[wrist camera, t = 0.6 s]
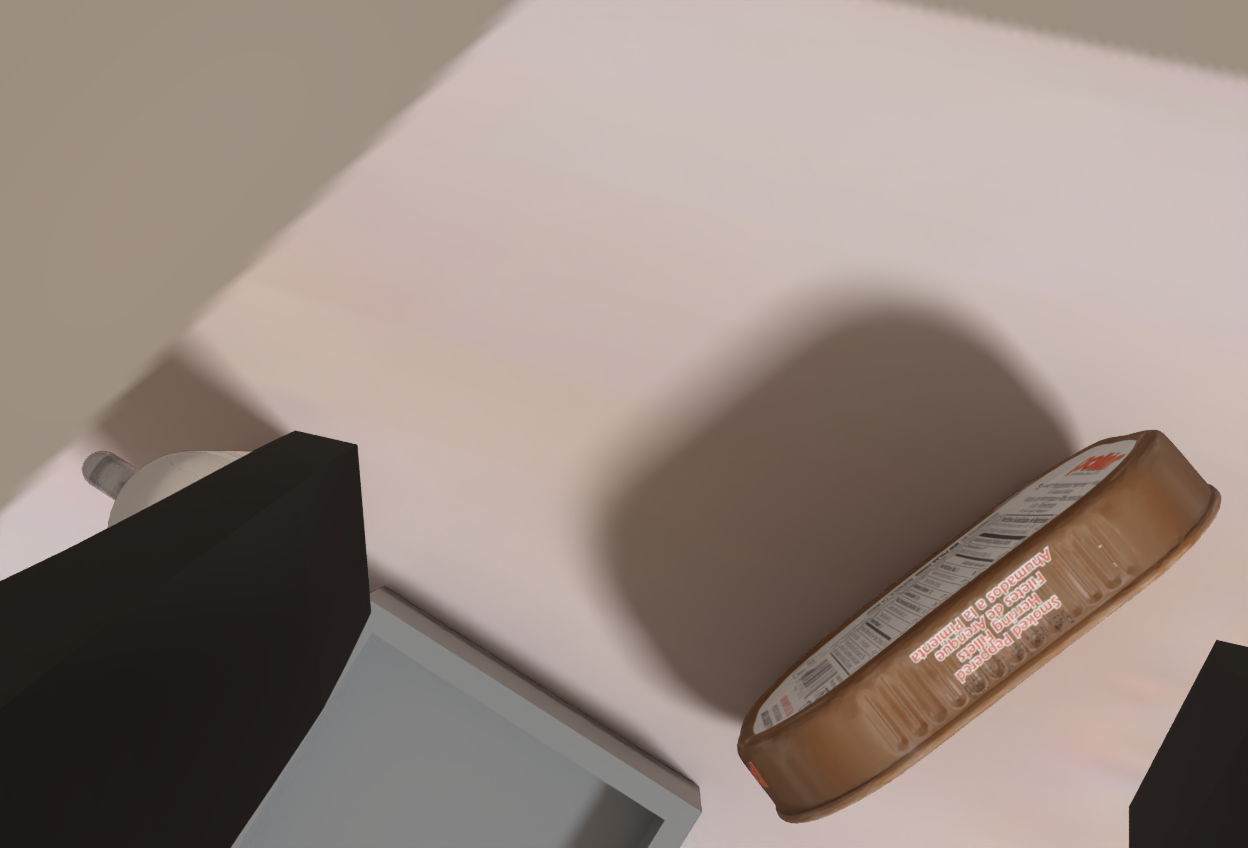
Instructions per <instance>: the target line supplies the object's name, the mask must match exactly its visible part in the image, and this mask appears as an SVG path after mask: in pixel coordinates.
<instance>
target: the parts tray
mask: <svg viewBox="0 0 1248 848" xmlns="http://www.w3.org/2000/svg"><path fill="white" fill-rule="evenodd" d="M370 603H371V614H370V616H369V619H368V621H367V623H366V625H365V627H364V629H363V631H362V633H361V635H360V637H359V639H358V641H357V643H356V646H355V648H354V650H353V652H352V654H351V656H350V658H349V660H348V662H347V664H346V666H345V668H344V670H343V672H342V674H341V676H340V678H339V680H338V682H337V684H336V686H335V688H334V689H333V691H332V693H331V695H330V697H329V699H328V701H327V703H326V705H325V707H324V709H323V710H322V712H321V713H320V715H319V716H318V718H317V720H316V721H315V723H314V724H313V726H312V727H311V729H310V730H309V732H308V733H307V735H306V736H305V738H304V739H303V741H302V742H301V744H300V745H299V747H298V748H297V750H296V751H295V753H294V754H293V756H292V757H291V759H290V761H289V762H288V764H287V765H286V767H285V768H284V770H283V771H282V773H281V774H280V776H279V777H278V779H277V780H276V782H275V783H274V785H273V786H272V788H271V789H270V790H269V792H268V793H267V795H266V796H265V798H264V799H263V801H262V802H261V804H260V805H259V807H258V808H257V810H256V811H255V813H254V814H253V816H252V817H251V819H250V820H249V822H248V823H247V824H246V826H245V827H244V829H243V830H242V832H241V833H240V835H239V836H238V838H237V839H236V841H235V842H234V844H233V845H232V847H231V848H680V847H681V845H682V843H683V842H684V840H685V839H686V837H687V835H688V834H689V832H690V830H691V829H692V827H693V826H694V824H695V822H696V821H697V819H698V818H699V816H700V814H701V813H702V808H701V799H700V791H699V786H697V785H696V784H694V783H692V782H691V781H689V780H688V779H686V778H685V777H683V776H681V775H680V774H678V773H677V772H675V771H674V770H672V769H671V768H669V767H667V766H666V765H664V764H663V763H661V762H660V761H658V760H656V759H655V758H653V757H652V756H650V755H649V754H647V753H645V752H644V751H642V750H641V749H639V748H638V747H636V746H634V745H633V744H631V743H630V742H628V741H627V740H625V739H623V738H622V737H620V736H619V735H617V734H616V733H614V732H613V731H611V730H609V729H608V728H606V727H605V726H603V725H602V724H600V723H598V722H597V721H595V720H594V719H592V718H591V717H589V716H587V715H586V714H584V713H583V712H581V711H580V710H578V709H576V708H575V707H573V706H572V705H570V704H569V703H567V702H565V701H564V700H562V699H561V698H559V697H558V696H556V695H554V694H553V693H551V692H550V691H548V690H547V689H545V688H544V687H542V686H540V685H539V684H537V683H536V682H534V681H533V680H531V679H529V678H528V677H526V676H525V675H523V674H522V673H520V672H518V671H517V670H515V669H514V668H512V667H511V666H509V665H507V664H506V663H504V662H503V661H501V660H500V659H498V658H496V657H495V656H493V655H492V654H490V653H489V652H487V651H486V650H484V649H482V648H481V647H479V646H478V645H476V644H475V643H473V642H471V641H470V640H468V639H467V638H465V637H464V636H462V635H460V634H459V633H457V632H456V631H454V630H453V629H451V628H449V627H448V626H446V625H445V624H443V623H442V622H440V621H438V620H437V619H435V618H434V617H432V616H431V615H429V614H427V613H426V612H424V611H423V610H421V609H420V608H418V607H417V606H415V605H413V604H412V603H410V602H409V601H407V600H406V599H404V598H402V597H401V596H399V595H398V594H396V593H395V592H393V591H391V590H390V589H388V588H387V587H385V586H383V587H381V588H379V589H377V590H375V591H373V592H371V593H370Z"/></svg>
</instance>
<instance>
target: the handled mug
mask: <svg viewBox="0 0 1248 848" xmlns="http://www.w3.org/2000/svg"><path fill="white" fill-rule="evenodd" d="M251 452H252V451H183V452H177V453H172V454H169V455H165V456H162V457H160V458H158V459H156V460H153V461H152V462H150V463H148V464H147V465H145V466H143V467H142V468H141V469H140V470H138V469H137V468H135V467H133V466H132V465H130V464H129V463H127V462H126V461H124V460H122V459H121V458H119V457H118V456H116V455H115V454H113V453H111V452H107V451H99V452H95V453H93V454H91V455H90V456H88V457H87V458H86V460H85V461H84V463H83V466H82V473H83V476H84V478H85V480H86V481H87V482H88V483H89V484H90V485H92V486H94V487H95V488H97V489H98V490H100V491H101V492H103V493H104V494H106V495H108V496H109V497H111V498H112V499H114V500H115V502H114V505H113V507H112V510H111V513H110V517H109V522H108V528H109V527H111V526H113V525H115V524H117V523H118V522H120V521H122V520H124V519H126V518H128V517H130V516H132V515H134V514H136V513H138V512H139V511H141V510H143V509H145V508H147V507H149V506H151V505H153V504H155V503H157V502H158V501H160V500H162V499H164V498H166V497H168V496H170V495H172V494H174V493H175V492H177V491H179V490H181V489H183V488H185V487H187V486H188V485H190V484H192V483H194V482H196V481H198V480H200V479H202V478H203V477H205V476H207V475H209V474H211V473H213V472H215V471H216V470H218V469H220V468H222V467H224V466H226V465H228V464H230V463H231V462H233V461H235V460H237V459H239V458H241V457H243V456H245V455H247V454H249V453H251Z"/></svg>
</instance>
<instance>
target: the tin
mask: <svg viewBox="0 0 1248 848" xmlns="http://www.w3.org/2000/svg"><path fill="white" fill-rule="evenodd" d="M1220 504H1221V495H1220V493H1219V491H1218V490H1217V489H1216V488H1215V487H1213V486H1212V485H1210V484H1207V483H1206V482H1205V480H1204V479H1203V478H1202V477H1201V476H1200V475H1199V474H1198V472H1197V471H1196V470H1195V469H1194V468H1193V466H1192V465H1191V464H1190V463H1189V462H1188V460H1187V459H1186V458H1185V457H1184V456H1183V454H1182V453H1181V452H1180V451H1179V450H1178V449H1177V447H1176V446H1175V445H1174V444H1173V443H1172V442H1171V441H1170V440H1169V439H1168V438H1167V437H1166V436H1165V435H1164V434H1163V433H1162V432H1161V431H1158V430H1146V431H1141V432H1137V433H1133V434H1129V435H1125V436H1118V437H1112V438H1107V439H1104V440H1101V441H1098V442H1096V443H1094V444H1092V445H1090V446H1088V447H1086V448H1084V449H1083V450H1081V451H1079V452H1077V453H1075V454H1074V455H1072V456H1070V457H1069V458H1067V459H1065V460H1064V461H1062V462H1060V463H1059V464H1057V465H1056V466H1054V467H1052V468H1051V469H1049V470H1048V471H1046V472H1045V473H1043V474H1042V475H1040V476H1039V477H1037V478H1035V479H1034V480H1032V481H1031V482H1030V483H1028V484H1027V485H1025V486H1024V487H1023V488H1021V489H1020V490H1018V491H1017V492H1016V493H1014V494H1013V495H1012V496H1010V497H1009V498H1007V499H1006V500H1005V501H1003V502H1002V503H1001V504H999V505H998V506H997V507H995V508H994V509H993V510H991V511H990V512H989V513H988V514H986V515H985V516H984V517H982V518H981V519H980V520H978V521H977V522H976V523H974V524H973V525H972V526H970V527H969V528H968V529H966V530H965V531H964V532H962V533H961V534H960V535H958V536H957V537H956V538H954V539H953V540H952V541H950V542H949V543H948V544H947V545H945V546H944V547H943V548H941V549H940V550H938V551H937V552H936V553H934V554H933V555H932V556H930V557H929V558H928V559H926V560H925V561H924V562H922V563H921V564H920V565H918V566H917V567H916V568H914V569H913V570H912V571H910V572H909V573H908V574H907V575H905V576H904V577H903V578H901V579H900V580H899V581H898V582H896V583H895V584H894V585H892V586H891V587H890V588H888V589H887V590H886V591H885V592H883V593H882V594H881V595H880V596H878V597H877V598H876V599H874V600H873V601H872V602H871V603H869V604H868V605H867V606H866V607H864V608H863V609H862V610H860V611H859V612H858V613H857V614H855V615H854V616H853V617H852V618H850V619H849V620H848V621H847V622H845V623H844V624H843V625H842V626H840V627H839V628H838V629H837V630H835V631H834V632H833V633H832V634H830V635H829V636H828V637H826V638H825V639H824V640H823V641H821V642H820V643H819V644H818V645H817V646H816V647H814V648H813V649H812V650H811V651H810V652H808V653H807V654H806V655H805V656H804V657H803V658H801V659H800V660H799V661H798V662H797V663H796V664H795V665H793V666H792V667H791V668H790V669H789V670H788V671H787V672H786V673H785V674H784V675H782V676H781V677H780V678H779V679H778V680H777V681H776V682H775V683H774V684H773V685H772V686H771V687H770V688H769V689H768V690H767V691H766V692H765V693H764V694H763V695H762V696H761V698H760V699H759V700H758V701H757V702H756V703H755V705H754V706H753V707H752V708H751V710H750V711H749V712H748V714H747V715H746V717H745V719H744V721H743V724H742V728H741V732H740V736H739V740H738V744H737V749H738V754H739V756H740V758H741V760H742V761H743V763H744V764H745V765H746V767H747V768H748V770H749V771H750V772H751V773H752V775H753V776H754V777H755V779H756V780H757V781H758V782H759V784H760V785H761V786H762V788H763V789H764V790H765V791H766V793H767V794H768V795H769V797H770V798H771V799H772V801H773V802H774V803H775V805H776V811H777V813H778V815H779V817H780V818H781V819H782V820H784V821H786V822H789V823H796V824H797V823H804V822H809V821H813V820H818V819H820V818H823V817H826V816H829V815H831V814H833V813H835V812H837V811H839V810H842V809H844V808H846V807H847V806H849V805H851V804H853V803H855V802H857V801H859V800H861V799H863V798H865V797H866V796H868V795H870V794H871V793H873V792H875V791H876V790H878V789H880V788H881V787H882V786H884V785H886V784H887V783H889V782H891V781H892V780H893V779H895V778H896V777H898V776H899V775H901V774H903V773H904V772H905V771H906V770H907V769H909V768H910V767H912V766H913V765H915V764H916V763H917V762H919V761H920V760H921V759H923V758H924V757H925V756H927V755H928V754H929V753H931V752H932V751H933V750H934V749H936V748H937V747H938V746H940V745H941V744H942V743H944V742H945V741H946V740H948V739H949V738H950V737H952V736H953V735H954V734H955V733H957V732H958V731H959V730H960V729H962V728H963V727H964V726H966V725H967V724H968V723H969V722H970V721H972V720H973V719H975V718H976V717H977V716H979V715H980V714H982V713H983V712H984V711H985V710H987V709H988V708H989V707H991V706H992V705H993V704H995V703H996V702H997V701H998V700H1000V699H1001V698H1002V697H1003V696H1005V695H1006V694H1007V693H1009V692H1010V691H1011V690H1013V689H1014V688H1015V687H1016V686H1017V685H1019V684H1020V683H1022V682H1023V681H1024V680H1025V679H1026V678H1028V677H1029V676H1030V675H1032V674H1033V673H1034V672H1036V671H1037V670H1038V669H1040V668H1041V667H1042V666H1044V665H1045V664H1046V663H1048V662H1049V661H1050V660H1052V659H1053V658H1054V657H1056V656H1057V655H1058V654H1060V653H1061V652H1062V651H1063V650H1064V649H1066V648H1067V647H1068V646H1069V645H1071V644H1072V643H1074V642H1075V641H1076V640H1077V639H1079V638H1080V637H1082V636H1083V635H1084V634H1086V633H1087V632H1088V631H1090V630H1091V629H1092V628H1094V627H1095V626H1096V625H1097V624H1099V623H1100V622H1101V621H1102V620H1104V619H1105V618H1106V617H1108V616H1109V615H1110V614H1112V613H1113V612H1114V611H1116V610H1117V609H1118V608H1120V607H1121V606H1122V605H1123V604H1125V603H1126V602H1128V601H1129V600H1131V599H1132V598H1133V597H1134V596H1136V595H1137V594H1138V593H1140V592H1141V591H1142V590H1143V589H1145V588H1146V587H1147V586H1148V585H1150V584H1151V583H1152V582H1154V581H1155V580H1156V579H1157V578H1159V577H1160V576H1161V575H1162V574H1163V573H1165V572H1166V571H1167V570H1168V569H1169V568H1170V567H1172V566H1173V565H1174V564H1175V563H1176V562H1177V561H1178V560H1179V559H1180V558H1181V557H1182V556H1183V555H1184V554H1185V553H1186V552H1187V551H1188V550H1189V549H1190V548H1191V547H1192V546H1193V545H1194V544H1195V543H1196V542H1197V541H1198V540H1199V539H1200V537H1201V535H1202V534H1203V533H1204V532H1205V531H1206V529H1207V528H1208V527H1209V526H1210V524H1211V523H1212V521H1213V520H1214V519H1215V517H1216V515H1217V513H1218V511H1219V508H1220Z"/></svg>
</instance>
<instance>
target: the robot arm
mask: <svg viewBox="0 0 1248 848" xmlns="http://www.w3.org/2000/svg"><path fill="white" fill-rule="evenodd" d="M370 614H371V603H370V591H369V579H368V567H367V555H366V543H365V531H364V519H363V507H362V495H361V483H360V471H359V459H358V447H357V445H356V444H352V443H348V442H343V441H339V440H334V439H330V438H326V437H321V436H317V435H312V434H308V433H304V432H299V431H293V432H291V433H289V434H287V435H285V436H283V437H281V438H279V439H276V440H274V441H272V442H270V443H268V444H266V445H264V446H262V447H260V448H258V449H256V450H254V451H252V452H251V453H249V454H247V455H245V456H243V457H241V458H239V459H237V460H235V461H233V462H231V463H230V464H228V465H226V466H224V467H222V468H220V469H218V470H216V471H215V472H213V473H211V474H209V475H207V476H205V477H203V478H202V479H200V480H198V481H196V482H194V483H192V484H190V485H188V486H187V487H185V488H183V489H181V490H179V491H177V492H175V493H174V494H172V495H170V496H168V497H166V498H164V499H162V500H160V501H158V502H157V503H155V504H153V505H151V506H149V507H147V508H145V509H143V510H141V511H139V512H138V513H136V514H134V515H132V516H130V517H128V518H126V519H124V520H122V521H120V522H118V523H117V524H115V525H113V526H111V527H109V528H107V529H105V530H103V531H101V532H99V533H97V534H96V535H94V536H92V537H90V538H88V539H86V540H84V541H82V542H80V543H78V544H76V545H74V546H72V547H70V548H69V549H67V550H65V551H62V552H60V553H58V554H56V555H54V556H52V557H50V558H48V559H46V560H44V561H42V562H39V563H37V564H35V565H33V566H31V567H29V568H27V569H25V570H23V571H21V572H19V573H16V574H14V575H12V576H10V577H8V578H6V579H4V580H2V581H0V848H231V847H232V845H233V844H234V842H235V841H236V839H237V838H238V836H239V835H240V833H241V832H242V830H243V829H244V827H245V826H246V824H247V823H248V822H249V820H250V819H251V817H252V816H253V814H254V813H255V811H256V810H257V808H258V807H259V805H260V804H261V802H262V801H263V799H264V798H265V796H266V795H267V793H268V792H269V790H270V789H271V788H272V786H273V785H274V783H275V782H276V780H277V779H278V777H279V776H280V774H281V773H282V771H283V770H284V768H285V767H286V765H287V764H288V762H289V761H290V759H291V757H292V756H293V754H294V753H295V751H296V750H297V748H298V747H299V745H300V744H301V742H302V741H303V739H304V738H305V736H306V735H307V733H308V732H309V730H310V729H311V727H312V726H313V724H314V723H315V721H316V720H317V718H318V716H319V715H320V713H321V712H322V710H323V709H324V707H325V705H326V703H327V701H328V699H329V697H330V695H331V693H332V691H333V689H334V688H335V686H336V684H337V682H338V680H339V678H340V676H341V674H342V672H343V670H344V668H345V666H346V664H347V662H348V660H349V658H350V656H351V654H352V652H353V650H354V648H355V646H356V643H357V641H358V639H359V637H360V635H361V633H362V631H363V629H364V627H365V625H366V623H367V621H368V619H369V616H370ZM1129 848H1248V647H1245V646H1241V645H1236V644H1232V643H1228V642H1223V641H1219V640H1216V642H1215V644H1214V646H1213V648H1212V649H1211V651H1210V653H1209V655H1208V657H1207V659H1206V661H1205V663H1204V665H1203V667H1202V669H1201V670H1200V672H1199V674H1198V676H1197V678H1196V680H1195V682H1194V684H1193V686H1192V688H1191V690H1190V691H1189V693H1188V695H1187V697H1186V699H1185V701H1184V703H1183V705H1182V707H1181V709H1180V711H1179V713H1178V714H1177V716H1176V718H1175V720H1174V722H1173V724H1172V726H1171V728H1170V730H1169V732H1168V734H1167V735H1166V737H1165V739H1164V741H1163V743H1162V745H1161V747H1160V749H1159V751H1158V753H1157V755H1156V756H1155V758H1154V760H1153V762H1152V764H1151V766H1150V768H1149V770H1148V772H1147V774H1146V776H1145V777H1144V779H1143V781H1142V783H1141V785H1140V787H1139V789H1138V791H1137V793H1136V795H1135V797H1134V798H1133V800H1132V802H1131V804H1130V806H1129Z"/></svg>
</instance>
